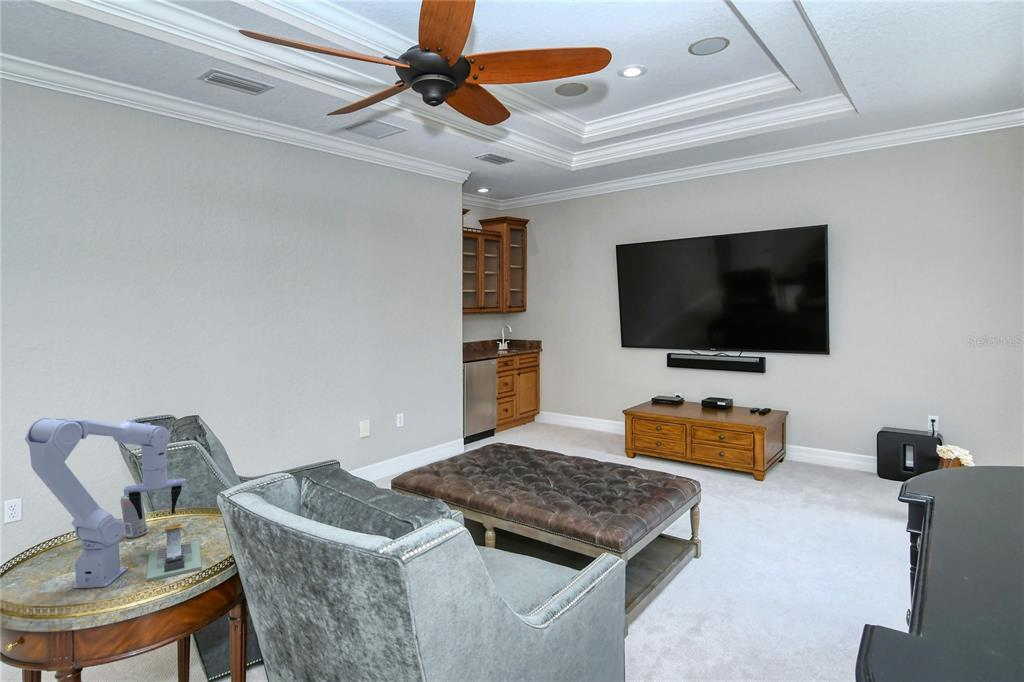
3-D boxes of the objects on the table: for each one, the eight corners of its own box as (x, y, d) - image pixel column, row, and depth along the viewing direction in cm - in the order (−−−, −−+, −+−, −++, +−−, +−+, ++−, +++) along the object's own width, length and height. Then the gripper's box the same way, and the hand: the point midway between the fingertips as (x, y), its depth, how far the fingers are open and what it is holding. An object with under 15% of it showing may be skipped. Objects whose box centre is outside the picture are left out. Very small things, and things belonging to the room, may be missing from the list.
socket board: (201, 569, 145) (200, 551, 145) (146, 581, 139) (145, 563, 138) (199, 543, 160) (198, 527, 160) (150, 553, 154) (149, 536, 154)
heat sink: (192, 560, 148) (191, 553, 148) (156, 568, 144) (156, 561, 144) (191, 549, 155) (191, 542, 155) (157, 556, 151) (157, 549, 151)
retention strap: (183, 559, 145) (182, 556, 144) (165, 563, 142) (164, 560, 142) (182, 526, 155) (181, 523, 154) (165, 530, 153) (165, 526, 152)
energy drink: (143, 529, 170) (138, 491, 169) (149, 532, 167) (144, 494, 166) (123, 535, 166) (117, 497, 165) (129, 539, 163) (123, 500, 161)
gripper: (185, 460, 161) (187, 505, 162) (124, 468, 154) (127, 515, 155) (184, 466, 155) (187, 513, 156) (121, 475, 148) (124, 524, 149)
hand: (157, 515), depth 155 cm, fingers open, 7 cm apart
